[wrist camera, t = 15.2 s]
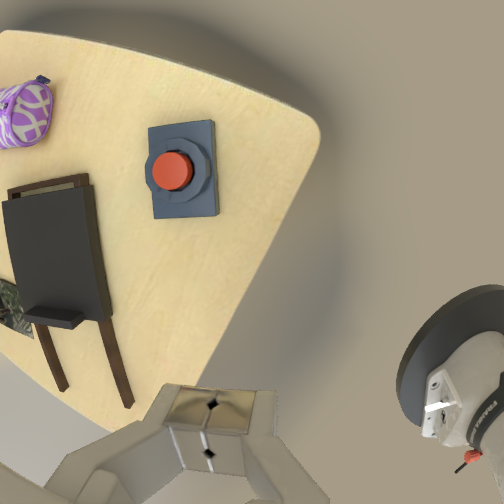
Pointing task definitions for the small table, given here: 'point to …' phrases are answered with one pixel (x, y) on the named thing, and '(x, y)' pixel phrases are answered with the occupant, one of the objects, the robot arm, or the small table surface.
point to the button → (172, 170)
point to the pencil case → (25, 113)
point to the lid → (57, 257)
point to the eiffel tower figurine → (13, 310)
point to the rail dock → (104, 327)
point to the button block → (204, 170)
